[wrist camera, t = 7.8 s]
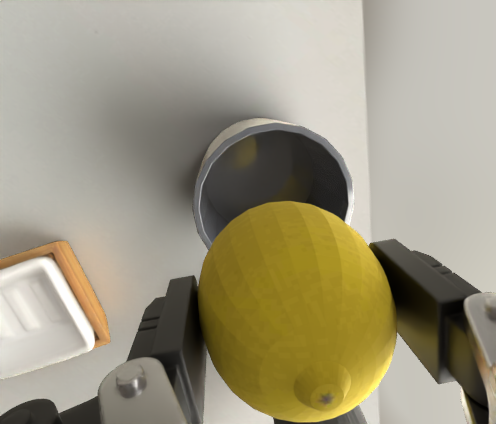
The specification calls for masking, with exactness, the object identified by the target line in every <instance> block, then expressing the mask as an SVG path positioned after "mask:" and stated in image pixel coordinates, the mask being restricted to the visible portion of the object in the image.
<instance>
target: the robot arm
mask: <svg viewBox="0 0 496 424" xmlns="http://www.w3.org/2000/svg"><path fill="white" fill-rule="evenodd" d="M369 248H370V249H371V251H372V252H373V254H374V255H375V256H376V258H377V259H378V261H379V262H380V264H381V266H382V268H383V270H384V272H385V275H386V277H387V280H388V283H389V286H390V289H391V293H392V296H393V299H394V302H395V306H396V314H397V332H398V333H399V335H400V336H401V337H402V339H403V340H404V341H405V342H406V344H407V345H408V346H409V348H410V349H411V350H412V351H413V353H414V354H415V355H416V356H417V357H418V359H419V360H420V362H421V363H422V364H423V365H424V367H425V368H426V369H427V370H428V372H429V373H430V374H431V375H432V377H433V378H434V379H435V381H436V382H437V383H438V384H442V383H448V382H453V381H457V382H458V383H459V384H460V386H461V403H462V406H463V410H464V414H465V418H466V421H467V424H496V293H492V292H487V293H482V292H481V291H479V290H478V289H476V288H475V287H473V286H472V285H471V284H469V283H468V282H466V281H465V280H464V279H462V278H461V277H459V276H458V275H457V274H455V273H452V271H451V270H450V269H448V268H447V267H445V266H442V264H441V263H440V262H438V261H437V260H435V259H434V258H433V257H431V256H429V255H426V254H423V253H421V252H418V251H410V250H409V249H407V248H406V247H405V246H403V245H402V244H401V243H399V242H398V241H397V240H396V239H390V240H384V241H379V242H373V243H370V244H369ZM206 355H207V347H206V344H205V341H204V338H203V335H202V332H201V328H200V322H199V311H198V286H197V281H196V278H195V276H194V275H193V276H188V277H182V278H177V279H172V280H170V283H169V286H168V290H167V293H166V296H165V297H160V298H155V299H154V301H153V302H152V303H151V304H150V305H149V306H148V307H147V308H146V309H145V312H144V314H143V317H142V322H141V323H140V325H139V328H138V332H137V334H136V336H135V339H134V342H133V345H132V347H131V350H130V353H129V356H128V358H127V361H126V362H125V363H123V364H121V365H120V366H118V367H116V368H115V369H114V370H112V371H111V372H110V373H109V374H108V375H107V376H106V377H105V378H104V379H103V381H102V382H101V384H100V386H99V389H98V396H96V397H95V398H93V399H91V400H89V401H87V402H84V403H82V404H80V405H77V406H75V407H73V408H70V409H68V410H66V411H64V412H61V413H58V411H57V408H56V406H55V404H54V403H53V402H52V401H50V400H48V399H35V400H31V401H28V402H25V403H22V404H20V405H18V406H16V407H14V408H12V409H10V410H9V411H7V412H6V413H4V414H3V415H1V416H0V424H203V412H204V393H205V374H206Z"/></svg>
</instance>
